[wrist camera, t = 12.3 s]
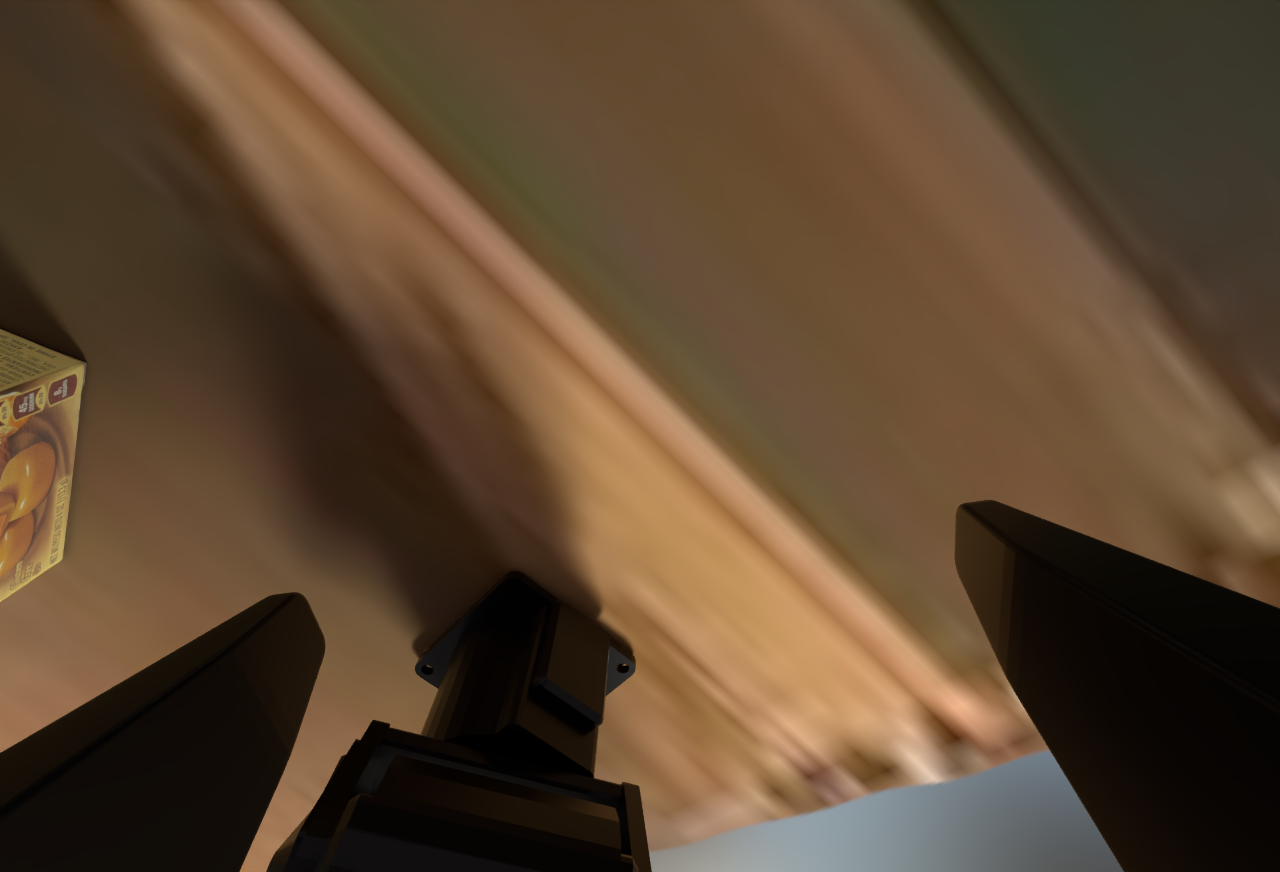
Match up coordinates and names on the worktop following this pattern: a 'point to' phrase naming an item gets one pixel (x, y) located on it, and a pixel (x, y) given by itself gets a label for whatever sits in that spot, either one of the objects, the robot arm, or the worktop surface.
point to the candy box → (35, 456)
